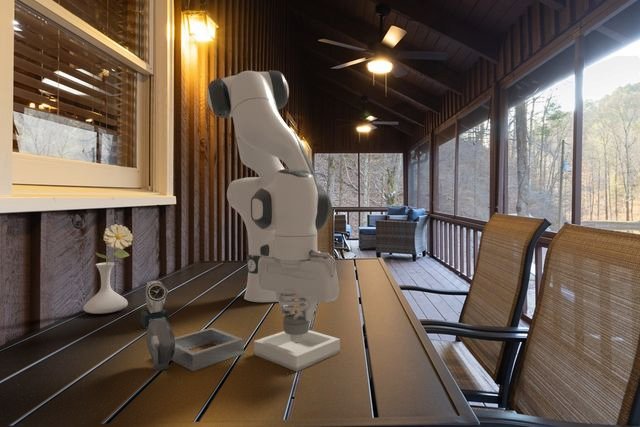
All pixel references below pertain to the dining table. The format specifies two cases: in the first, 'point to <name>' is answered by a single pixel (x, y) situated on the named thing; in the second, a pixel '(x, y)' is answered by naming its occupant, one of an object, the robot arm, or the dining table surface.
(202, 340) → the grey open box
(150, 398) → the dining table surface
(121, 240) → the flower in vase
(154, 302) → the watch
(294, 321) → the light bulb
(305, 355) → the tray
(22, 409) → the dining table surface
